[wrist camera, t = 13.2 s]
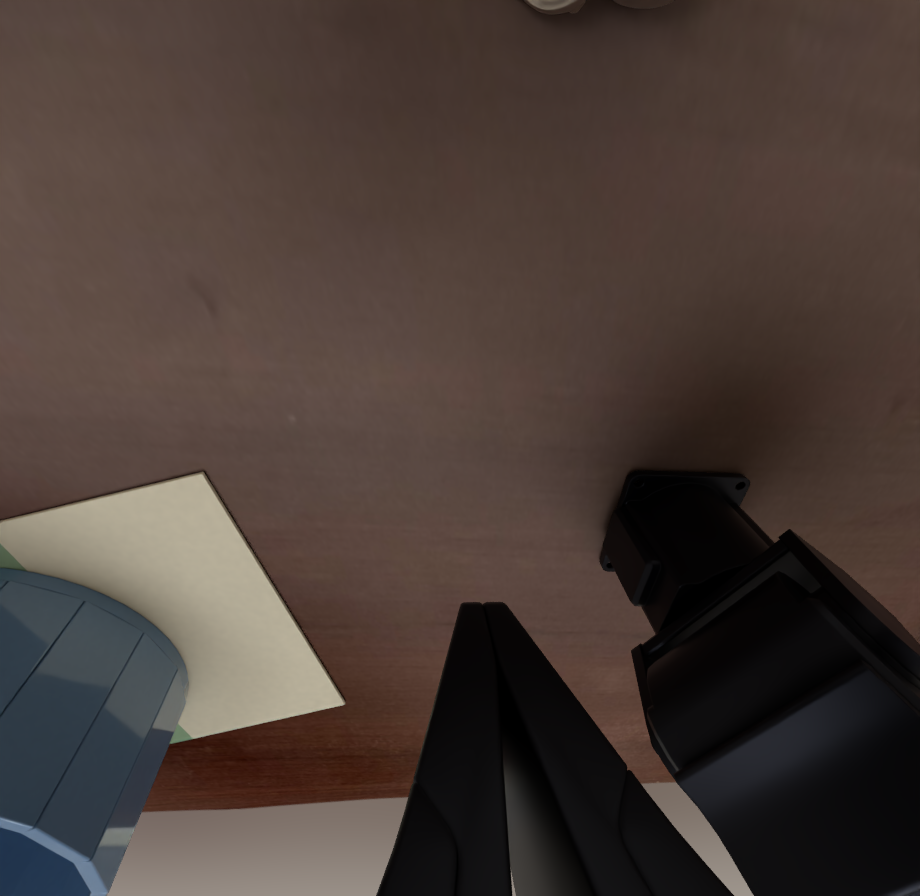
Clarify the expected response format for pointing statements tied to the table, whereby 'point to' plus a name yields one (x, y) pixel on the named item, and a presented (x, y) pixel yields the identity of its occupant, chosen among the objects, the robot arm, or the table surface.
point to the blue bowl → (77, 731)
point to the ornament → (558, 3)
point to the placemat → (184, 596)
